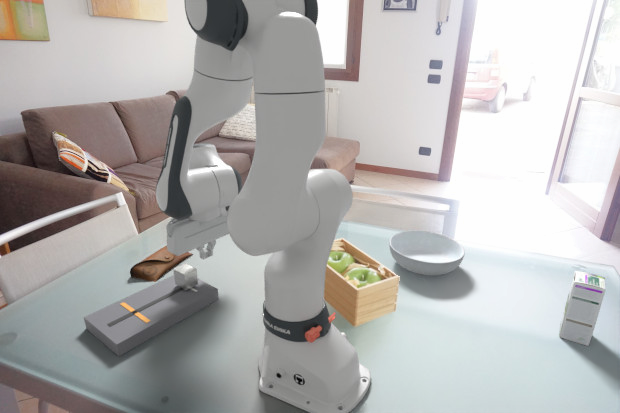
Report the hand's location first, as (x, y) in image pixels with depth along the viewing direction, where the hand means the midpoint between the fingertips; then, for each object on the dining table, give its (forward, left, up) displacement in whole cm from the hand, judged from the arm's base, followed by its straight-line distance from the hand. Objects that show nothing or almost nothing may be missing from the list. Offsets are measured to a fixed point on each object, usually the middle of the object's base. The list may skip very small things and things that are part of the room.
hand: (206, 256), depth 106 cm
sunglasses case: (+18, +2, -9) cm, 20 cm away
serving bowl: (-41, -46, -8) cm, 62 cm away
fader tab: (-1, +7, -5) cm, 8 cm away
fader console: (-1, +16, -8) cm, 18 cm away
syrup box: (-80, -38, -8) cm, 89 cm away
